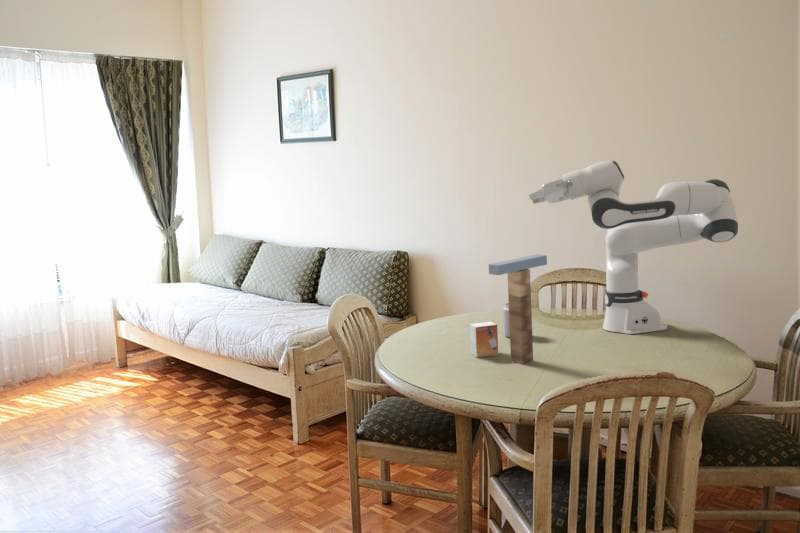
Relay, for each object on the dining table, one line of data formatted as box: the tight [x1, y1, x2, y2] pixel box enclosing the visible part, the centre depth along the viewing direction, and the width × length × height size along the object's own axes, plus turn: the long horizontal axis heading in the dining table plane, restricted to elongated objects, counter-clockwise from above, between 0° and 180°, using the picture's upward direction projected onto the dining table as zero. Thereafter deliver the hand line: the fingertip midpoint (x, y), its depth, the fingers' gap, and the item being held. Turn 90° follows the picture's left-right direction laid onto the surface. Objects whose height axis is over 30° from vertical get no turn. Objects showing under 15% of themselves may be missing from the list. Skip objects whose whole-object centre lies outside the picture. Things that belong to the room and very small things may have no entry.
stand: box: [507, 268, 534, 365], centre depth 232 cm, size 5×5×30 cm
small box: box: [469, 320, 499, 358], centre depth 243 cm, size 8×6×10 cm
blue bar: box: [488, 254, 548, 276], centre depth 229 cm, size 22×4×3 cm, turn 127°
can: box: [502, 302, 510, 338], centre depth 263 cm, size 8×8×12 cm
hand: (531, 199), depth 240 cm, fingers open, 8 cm apart
